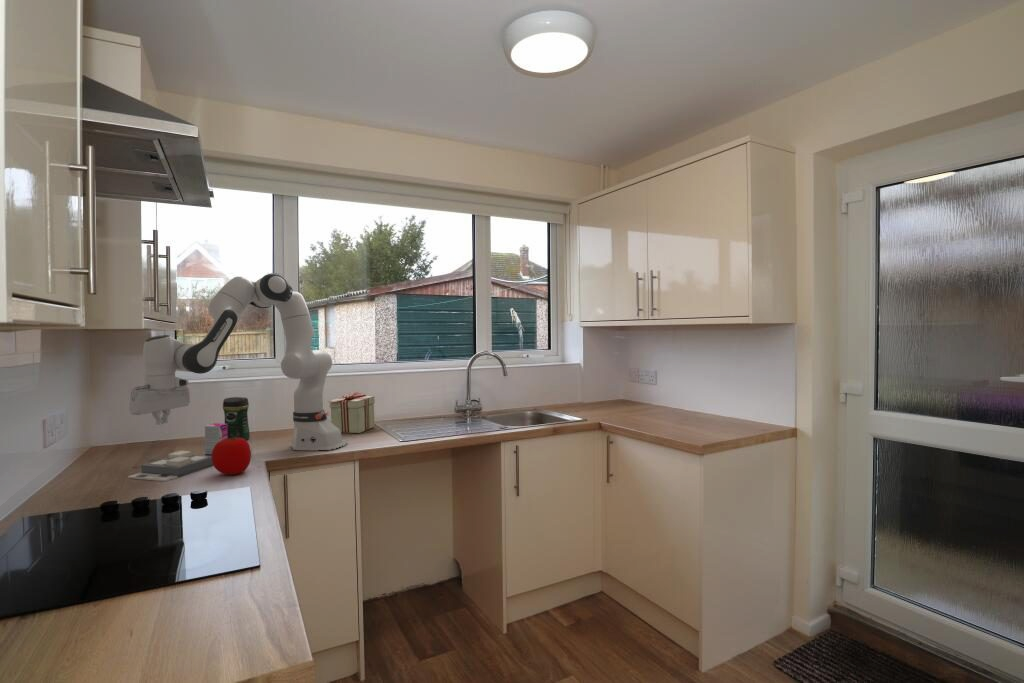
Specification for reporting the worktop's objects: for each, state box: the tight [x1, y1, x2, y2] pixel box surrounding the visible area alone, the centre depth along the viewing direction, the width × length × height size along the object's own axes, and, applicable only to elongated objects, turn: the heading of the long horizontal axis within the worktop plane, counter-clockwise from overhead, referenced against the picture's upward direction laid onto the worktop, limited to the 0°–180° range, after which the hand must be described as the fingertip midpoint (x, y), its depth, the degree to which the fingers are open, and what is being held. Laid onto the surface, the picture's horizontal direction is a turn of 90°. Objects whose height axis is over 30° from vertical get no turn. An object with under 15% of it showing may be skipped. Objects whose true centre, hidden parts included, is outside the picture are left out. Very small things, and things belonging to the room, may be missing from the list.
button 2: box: [166, 457, 191, 467], centre depth 177 cm, size 5×5×2 cm
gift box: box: [327, 391, 375, 434], centre depth 244 cm, size 17×18×17 cm
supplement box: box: [204, 422, 228, 456], centre depth 201 cm, size 6×6×12 cm
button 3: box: [167, 450, 193, 459], centre depth 185 cm, size 5×5×2 cm
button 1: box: [149, 460, 167, 465], centre depth 179 cm, size 5×5×2 cm
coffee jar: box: [222, 396, 251, 441], centre depth 224 cm, size 10×8×19 cm
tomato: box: [212, 436, 252, 476], centre depth 175 cm, size 12×12×13 cm
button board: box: [127, 453, 214, 482], centre depth 179 cm, size 16×20×3 cm
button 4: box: [191, 456, 208, 461], centre depth 184 cm, size 5×5×2 cm
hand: (161, 423), depth 178 cm, fingers closed
